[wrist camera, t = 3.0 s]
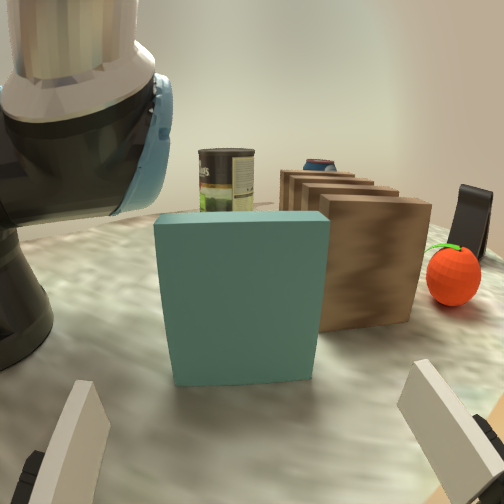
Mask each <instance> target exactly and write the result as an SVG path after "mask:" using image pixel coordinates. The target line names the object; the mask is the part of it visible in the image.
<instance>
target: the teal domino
mask: <svg viewBox="0 0 504 504" xmlns="http://www.w3.org/2000/svg"><path fill="white" fill-rule="evenodd" d="M153 225H154V237H155V248H156V258H157V267H158V276H159V285H160V293H161V301H162V308H163V315H164V322H165V329H166V335H167V342H168V348H169V354H170V359H171V365H172V371H173V376H174V381H175V386H227V385H248V384H263V383H276V382H287V381H298V380H307V379H311V377H312V371H313V365H314V358H315V352H316V345H317V338H318V331H319V324H320V316H321V309H322V301H323V292H324V284H325V275H326V265H327V255H328V245H329V233H330V220H329V219H327V218H326V217H325V216H324V215H322V214H321V213H320V212H319V211H234V212H194V213H166V214H160V216H159V217H158V219H157V220H156V221H155V223H154V224H153Z"/></svg>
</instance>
